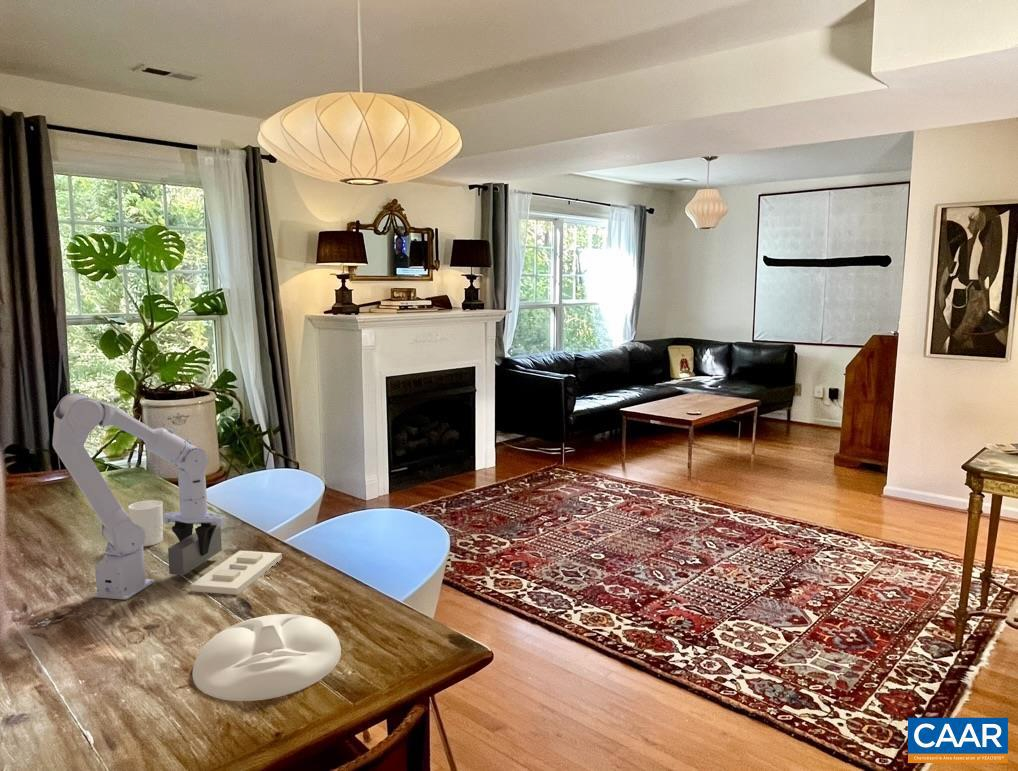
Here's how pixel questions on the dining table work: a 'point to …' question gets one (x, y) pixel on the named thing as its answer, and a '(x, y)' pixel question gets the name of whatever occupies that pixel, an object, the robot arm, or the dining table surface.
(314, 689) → the dining table surface
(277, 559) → the plate
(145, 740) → the dining table surface
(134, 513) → the white cup
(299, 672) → the theatrical mask
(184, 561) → the matte grey box
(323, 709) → the dining table surface
